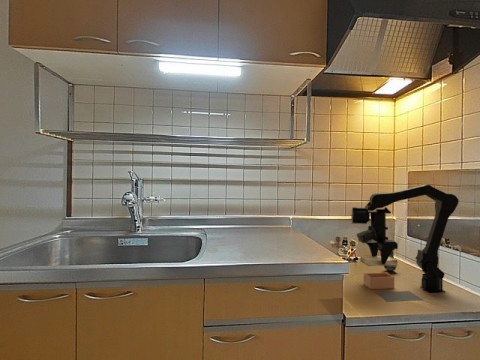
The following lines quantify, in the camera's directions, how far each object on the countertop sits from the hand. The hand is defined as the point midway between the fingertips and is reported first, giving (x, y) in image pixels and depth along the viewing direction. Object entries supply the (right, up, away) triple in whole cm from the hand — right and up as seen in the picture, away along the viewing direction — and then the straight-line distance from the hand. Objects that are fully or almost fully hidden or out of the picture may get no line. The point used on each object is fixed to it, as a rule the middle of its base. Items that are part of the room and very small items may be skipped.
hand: (378, 261), depth 130 cm
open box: (0, -11, 0) cm, 11 cm away
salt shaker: (+14, -10, +19) cm, 26 cm away
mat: (+3, -11, -11) cm, 15 cm away
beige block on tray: (0, -1, 0) cm, 1 cm away
